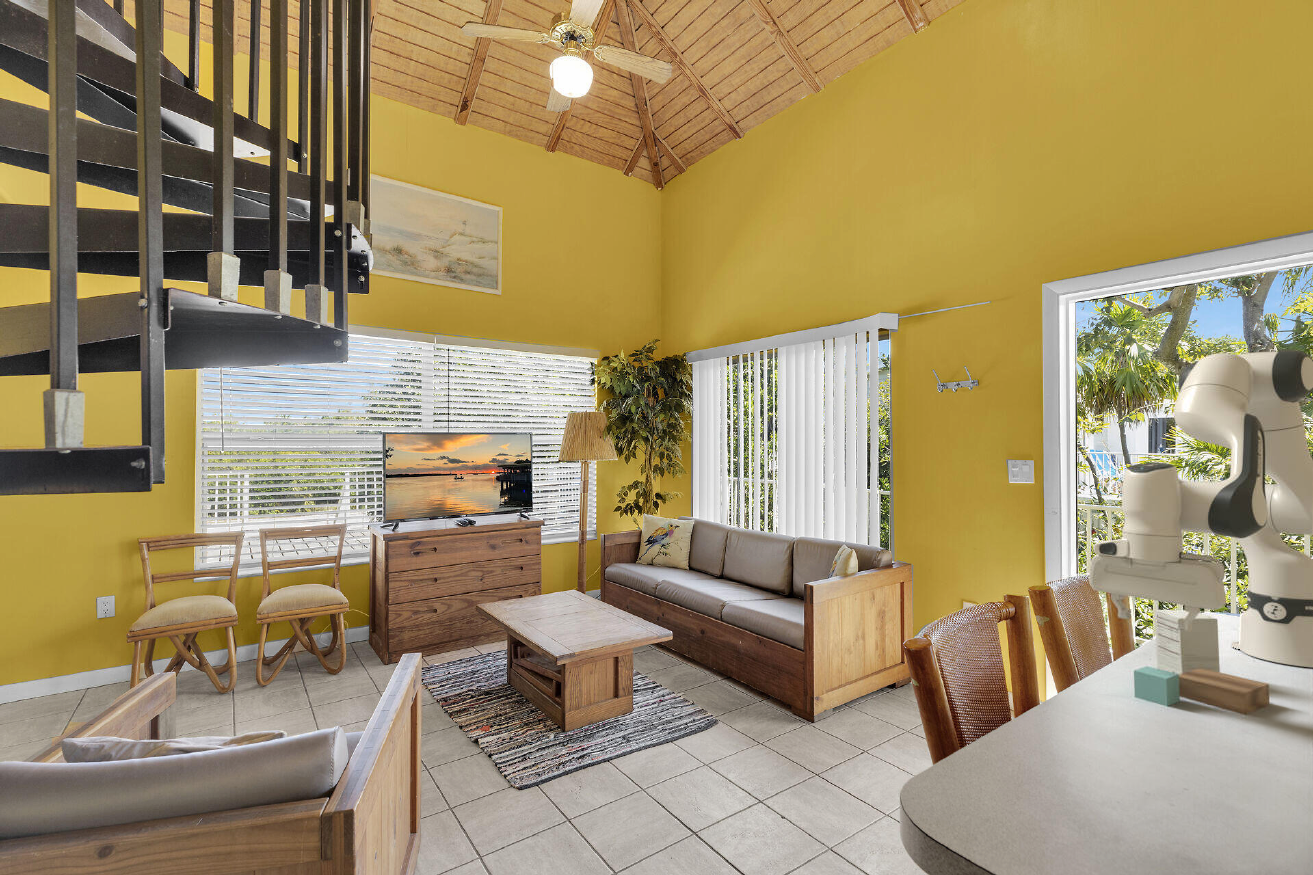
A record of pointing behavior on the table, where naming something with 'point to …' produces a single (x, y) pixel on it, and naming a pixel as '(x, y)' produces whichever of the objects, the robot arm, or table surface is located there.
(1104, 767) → the table surface
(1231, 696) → the walnut block
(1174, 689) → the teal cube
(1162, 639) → the supplement box
